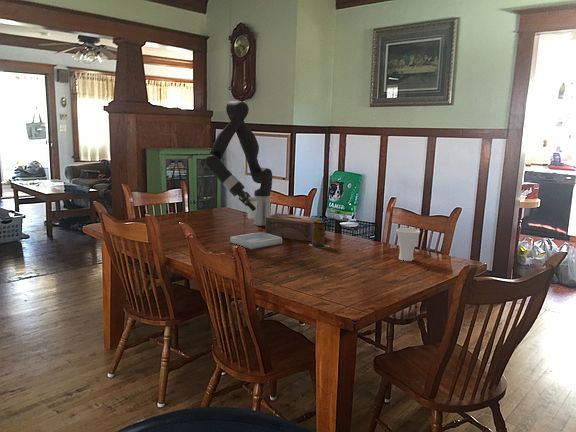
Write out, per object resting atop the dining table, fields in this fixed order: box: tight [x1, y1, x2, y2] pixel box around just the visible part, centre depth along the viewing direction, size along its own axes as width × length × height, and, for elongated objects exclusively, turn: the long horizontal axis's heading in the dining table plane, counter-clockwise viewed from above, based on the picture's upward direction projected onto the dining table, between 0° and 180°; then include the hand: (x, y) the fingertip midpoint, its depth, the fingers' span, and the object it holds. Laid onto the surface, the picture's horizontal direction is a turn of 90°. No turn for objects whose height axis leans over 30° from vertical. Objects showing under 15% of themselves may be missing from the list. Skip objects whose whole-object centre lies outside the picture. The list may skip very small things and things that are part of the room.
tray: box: [230, 231, 283, 250], centre depth 245 cm, size 20×16×3 cm
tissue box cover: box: [264, 212, 322, 242], centre depth 264 cm, size 26×14×10 cm, turn 66°
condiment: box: [308, 220, 331, 249], centre depth 244 cm, size 7×8×12 cm
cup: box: [396, 227, 421, 262], centre depth 224 cm, size 10×10×14 cm
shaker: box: [246, 196, 257, 220], centre depth 261 cm, size 5×5×11 cm
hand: (255, 208), depth 261 cm, fingers closed on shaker, 5 cm apart
